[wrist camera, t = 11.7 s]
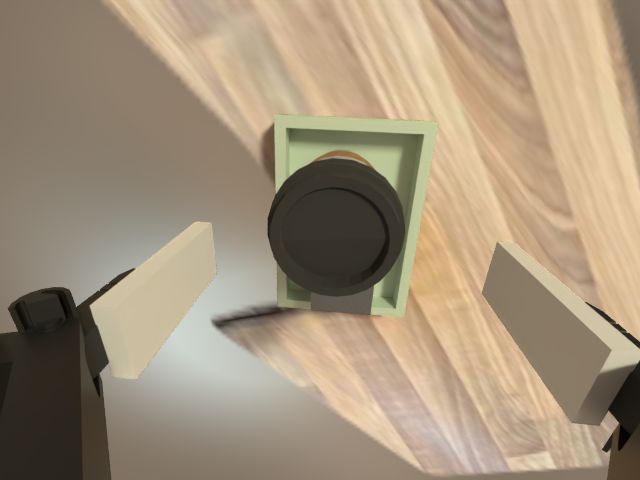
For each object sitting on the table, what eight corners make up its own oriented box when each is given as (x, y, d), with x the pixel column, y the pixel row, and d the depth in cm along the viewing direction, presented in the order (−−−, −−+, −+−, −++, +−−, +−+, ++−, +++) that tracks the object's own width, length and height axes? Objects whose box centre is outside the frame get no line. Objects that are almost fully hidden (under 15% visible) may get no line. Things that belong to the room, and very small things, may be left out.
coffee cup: (382, 220, 32) (407, 304, 18) (302, 222, 33) (269, 304, 19) (384, 135, 29) (416, 161, 15) (296, 140, 30) (250, 167, 16)
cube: (317, 235, 33) (312, 256, 29) (373, 239, 33) (377, 261, 28) (315, 283, 36) (310, 309, 31) (367, 288, 35) (370, 314, 31)
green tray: (281, 114, 30) (274, 114, 27) (430, 120, 29) (438, 122, 26) (282, 292, 38) (277, 306, 35) (399, 301, 37) (403, 317, 34)
